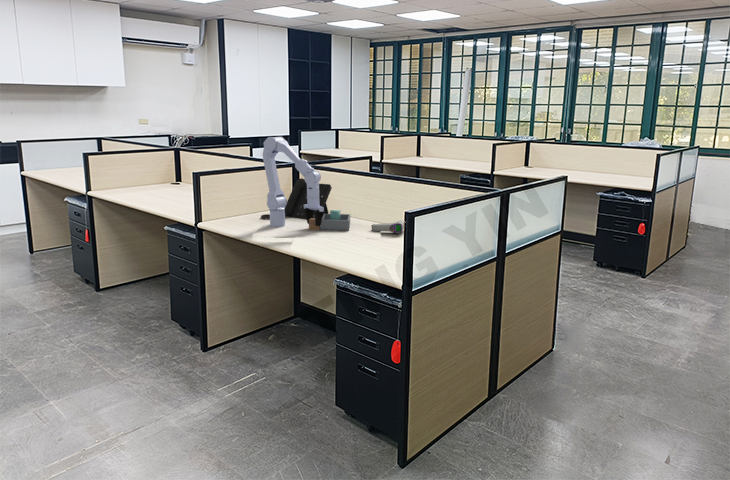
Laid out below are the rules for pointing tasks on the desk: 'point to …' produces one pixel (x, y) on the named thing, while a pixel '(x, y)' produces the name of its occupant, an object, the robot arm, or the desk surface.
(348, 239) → the desk surface
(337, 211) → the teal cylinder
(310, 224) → the walnut cube
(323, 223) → the charcoal tote
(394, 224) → the infrared thermometer
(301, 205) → the office phone
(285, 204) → the robot arm
